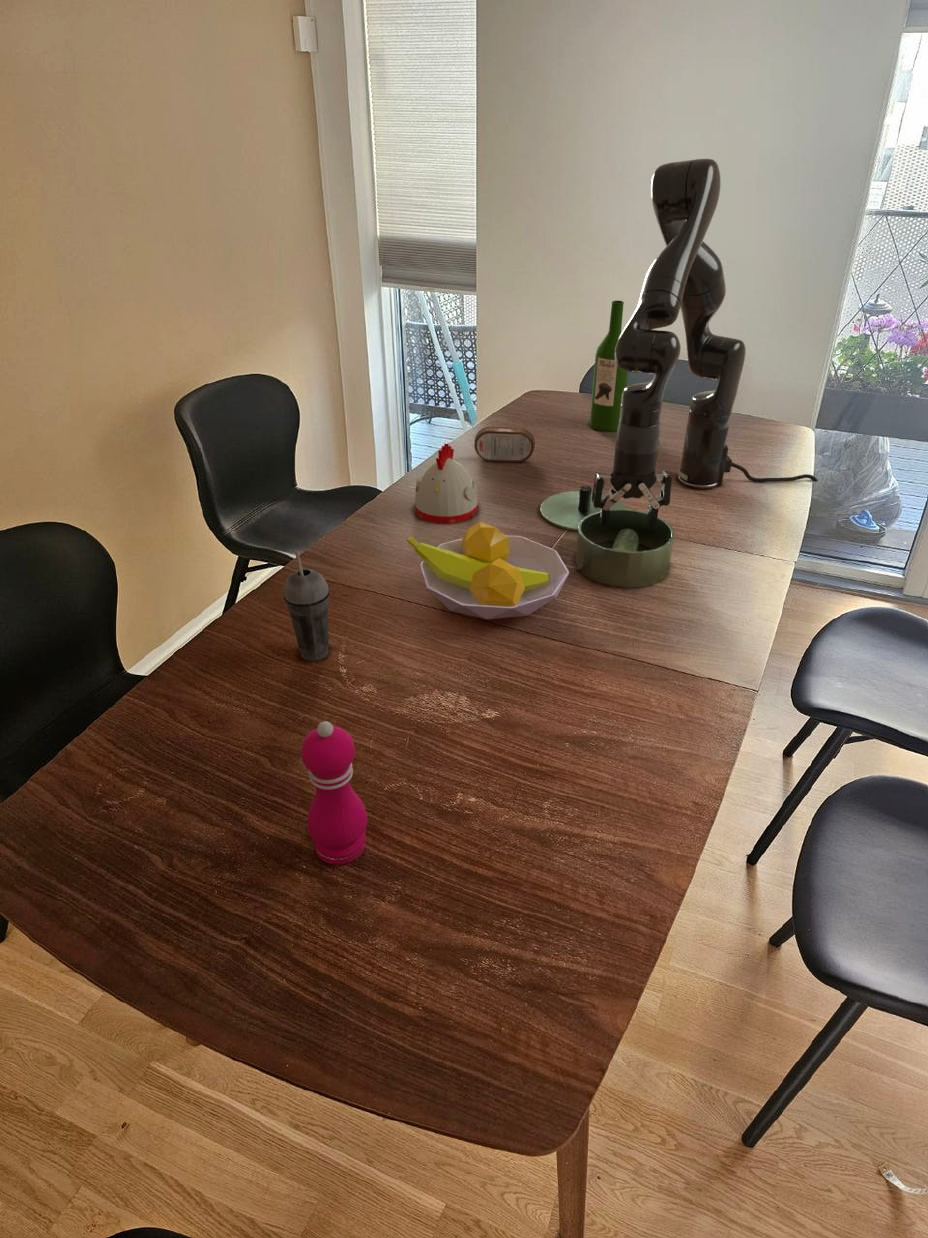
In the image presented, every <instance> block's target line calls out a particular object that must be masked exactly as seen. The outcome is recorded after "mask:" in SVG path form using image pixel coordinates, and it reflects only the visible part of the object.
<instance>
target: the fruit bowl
mask: <svg viewBox="0 0 928 1238" xmlns="http://www.w3.org/2000/svg"><path fill="white" fill-rule="evenodd" d="M406 542H408V543H409V545H411V546H412V547H413V548H414V550H413V551H414V552H415V553H416V554H417V556H419V558H420V559H421V560H422V561H421V563H420V564H419V565H420V568H421V572H422V575H423V579H424V583H425V585H426V588H427V591H429V593H431V594H432V595H433V596H434V597H435V598H436V599H437V600H438V601H439V602H440V603H441V604H442V605H444V606H445V608H447V609H448V610H449V611H451V612H455V613H459V614H462V615H463V614H464V615H468V616H472V617H475V618H480V619H485V620H496V619H505V618H515V617H525V616H526V617H527V616H529V615H532V614H533V613H534V612H535V611H537V610H539V609H541V608H542V607H543V606H545V605H547V604H548V603H549V602H551V601H553V600H555V599H556V598H558V595H559V594H560V591H561V590H562V588H563V587H564V584H565V582H566V580H567V578H568V576H569V574H570V570H569V569H568V568H567V566H566V564H565V563H564V562H563V560H562V558H561V556H560V554H559V552H558V551H557V550H556V549H553V548H551V547H549V546H546V545H544V544H541V543H539V542H538V541H537V542H536V541H534V540H532V539H529V538H527V537H524V536H523V535H507V534H505V533H504V532H502V531H501V530H500V529H499V528H497V527H496V526H495V525H492V524H489V523H485V522H483V521H478V522H477V523H475V524H474V525H472V526H470V527H469V528H468V529H467V530H466V532H465V534H464V536H463V537H462V538H458V539H455V540H451V541H447V542H443V543H440V544H439V545H437V546H434V545H431V544H428V543H423V542H418V541H417V540H415V539H414V537H412V536H408V537H407V538H406Z"/></svg>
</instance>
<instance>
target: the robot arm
mask: <svg viewBox="0 0 928 1238" xmlns="http://www.w3.org/2000/svg"><path fill="white" fill-rule="evenodd" d="M721 180H722V179H721V171H720V167H719V164H718V162H717V161H716V160H715V159H712V158H696V159H689V160H681V161H673V162H668V163H664V164H661V165H659V166H658V167H657V168H656V169H655V171H654V172H653V174H652V177H651V184H650V195H651V196H650V197H651V203H652V207H653V212H654V215H655V219H656V222H657V224H658V227H659V230H660V234H661V236H662V240H663V242H664V245H665V247H664V248H663V249H662V251H660V253H659V254H658V255H657V257H655V259H654V260H653V262H652V263H651V264H650V266H649V268H648V270H647V272H646V274H645V277H644V281H643V284H642V288H641V292H640V296H639V299H638V302H637V306H636V308H635V310H634V311H633V313H632V315H631V317H630V319H629V320H628V322H627V323H626V325H625V327H624V329H623V330H622V331H621V335H620V337H619V339H618V341H617V344H616V348H615V361H616V364H617V365H618V367H619V368H620V369H621V370H623V371H626V372H628V373H637V374H646V375H652V376H653V379H652V380H650V381H647V382H640V383H633V384H630V385H627V387H626V388H625V389H624V391H623V394H622V399H621V410H620V420H619V425H618V429H617V430H616V435H615V436H616V437H615V447H614V456H613V457H614V458H613V466H612V467H613V468H612V472H611V474H610V475H607V474H605V475H602V474H601V473H600V472H597V473H596V474H595V475H594V480H593V488H592V492H593V493H592V502H593V505H594V507H595V508H601V514H600V521H601V523H602V525H604V528H608V527H609V518H610V507H611V506H612V505H613V504H614V503H617V502H618V500H619V501H620V500H621V498H623V499H631V498H633V499H641V497H645V498H646V500H647V501H648V502H649V504H648V510H647V513H648V517H647V523H648V525H649V526H653V525H654V523H656V522H657V517H659V509H660V508H661V507H663V506H665V507H667V506H669V505H670V504H671V492H672V481H673V479H672V476H671V475H670V473H669V471H668V470H663V471H662V473H656V467H657V457H658V452H659V451H658V450H659V446H660V434H661V416H662V409H663V402H664V397H665V393H666V390H667V386H668V384H669V381H670V378H671V376H672V374H673V372H674V369H675V367H676V365H677V363H678V360H679V358H680V354H681V343H680V338H679V337H678V335H677V334H676V333H674V332H672V331H669V330H660V329H662V328H666V327H669V326H671V325H673V324H674V323H675V322H676V321H677V319H678V317H679V314H680V312H681V317H682V323H683V327H684V333H685V342H686V351H687V361H688V367H689V370H690V372H691V373H692V375H694V376H695V377H697V378H699V379H704V380H708V381H713V382H717V383H716V387H715V389H714V390H707V391H701V392H698V393H695V394H694V395H693V396H692V397H691V399H690V403H689V411H688V416H687V421H686V423H687V424H686V429H685V436H684V441H683V449H682V454H681V462H680V467H679V470H678V473H677V476H678V478H677V479H678V482H680V484H681V485H683V486H686V487H688V488H693V489H699V490H709V489H714V488H717V487H722V485H723V480H724V474H726V473H731V469H732V468H735V469H737V470H739V471H741V472H742V473H743V474H744V476H745V478H746V479H748V480H749V481H752V482H754V483H768V482H770V483H771V482H774V483H776V482H777V483H779V482H793V481H799V480H803V479H809V480H811V481H812V482H816V483H817V482H819V480H818V479H817V477H816V476H815V475H812V474H809V473H804V474H800V475H795V476H791V477H790V476H789V477H788V476H787V477H754V476H752V475H750V473H749V471H748V470H747V469H746V468H745V467H743V466H742V465H740V464H737V463H735V462H733V460H732V458H730V456H729V455H728V453H729V446H728V445H727V440H728V435H729V430H730V423H731V419H732V413H733V408H734V404H735V401H736V398H737V395H738V389H739V385H740V381H741V376H742V373H743V369H744V364H745V360H746V354H747V353H746V344H745V343H744V341H743V340H742V339H739V338H733V337H729V336H723V335H718V334H714V333H712V332H711V328H710V322H711V320H712V319H713V318H714V316H716V314H717V312H718V311H719V309H720V308H721V307H722V304H723V302H724V300H725V297H726V293H727V292H726V291H727V290H726V289H727V288H726V280H725V274H724V267H723V264H722V261H721V259H720V257H719V255H718V254H716V252H715V250H713V248H711V247H710V246H709V244H707V243H706V242H705V241H704V240H705V237H706V234H707V232H708V230H709V227H710V225H711V223H712V220H713V217H714V215H715V213H716V210H717V207H718V204H719V200H720V194H721V187H722V185H721V184H722V183H721ZM658 329H659V330H658ZM656 482H657V483H658V485H659V486H660V495H659V496H657V497H656V496H655V494H654V493H653V492H652V490H651V488H652V487H653V486H654V485H655V484H656ZM608 484H611V485H612V486H611V487H610V489H609V490H608V491H607V493H606V494H605V495H606V496H605V497H604V498H603V499H601V497H602V494H603V490H604V489H605V488H606V487H607V486H608Z"/></svg>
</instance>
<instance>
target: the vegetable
mask: <svg viewBox="0 0 928 1238" xmlns="http://www.w3.org/2000/svg"><path fill="white" fill-rule="evenodd" d="M612 542H613V543H612V545H611V547H610V549H613V550H618V551H628V552H637V551H639V546H640V544H639V538H638V535H637V533H636V532H635V531H634V530H632V529H623V530H621V531H620V532H619V533H618V534H617V536H616V538H615V540H614V541H612Z"/></svg>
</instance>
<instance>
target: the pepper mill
mask: <svg viewBox="0 0 928 1238" xmlns="http://www.w3.org/2000/svg"><path fill="white" fill-rule="evenodd" d="M300 753H301V755H300V756H301V760H302V763H303V765H304V766H305V768H306V769H307V771H308V777H309V781H310V783H311V784H312V785H313V786H314V787H315V796H314V798H313V799H312V802H311V805H310V806H309V807H310V808H309V810H308V814H307V819H306V820H307V830H308V834H309V836H310V838H311V839H312V840H313V842H314V843H313V844H314V849H315V853H316V855H317V857H318V858H319V859H320V860H321V861H322V862H325V863H327V864H330V865H334V866H335V865H336V866H337V865H339V866H341V865H345V864H346V865H347V864H349V863H352V862H353V861H355V860H357V859H358V858H359V857H360V856H361V855H362V854H363V853H364V851H365V849H366V845H367V840H366V829H367V827H368V822H369V821H368V814H367V810H366V807H365V805H364V803H363V800H362V799H361V798H360V796H359V795H358V794H357V793H356V792H355V790H354V789H353V788H352V786H351V782H350V780H351V779H352V778H353V774H354V769H353V761H354V759H355V754H356V748H355V743H354V740H353V739H352V736H351V734H349V733H348V731H346V729H343V728H342V727H339V726H335V725H333V724H332V723H331V722H330V721H325V720H324V721H321V722H320V723H319V724H318V725H317V728H314V729H313V730H312V731H311V730H310V732H309V733H308V734H307V735H306V737H305V738H304V740H303V741H302V745H301V752H300ZM364 841H365V843H364ZM363 843H364V846H363V847H362V849H361V850H360V851H359V852H358V853H357V854H355V855H354V856H352V857H350V858H347V859H343V860H330V859H327V858H325V857H323V856H321V855H320V854H319V853H318V852H320V853H321V854H322V855H324V856H326V857H330V858H334V859H336V858H338V859H340V858H345V857H348V856H351V855H353V854H354V853H356V852H357V851H358V850H359V849H360V848H361V846H362V845H363ZM315 847H316V848H315ZM316 849H317V850H318V852H317V850H316Z"/></svg>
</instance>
